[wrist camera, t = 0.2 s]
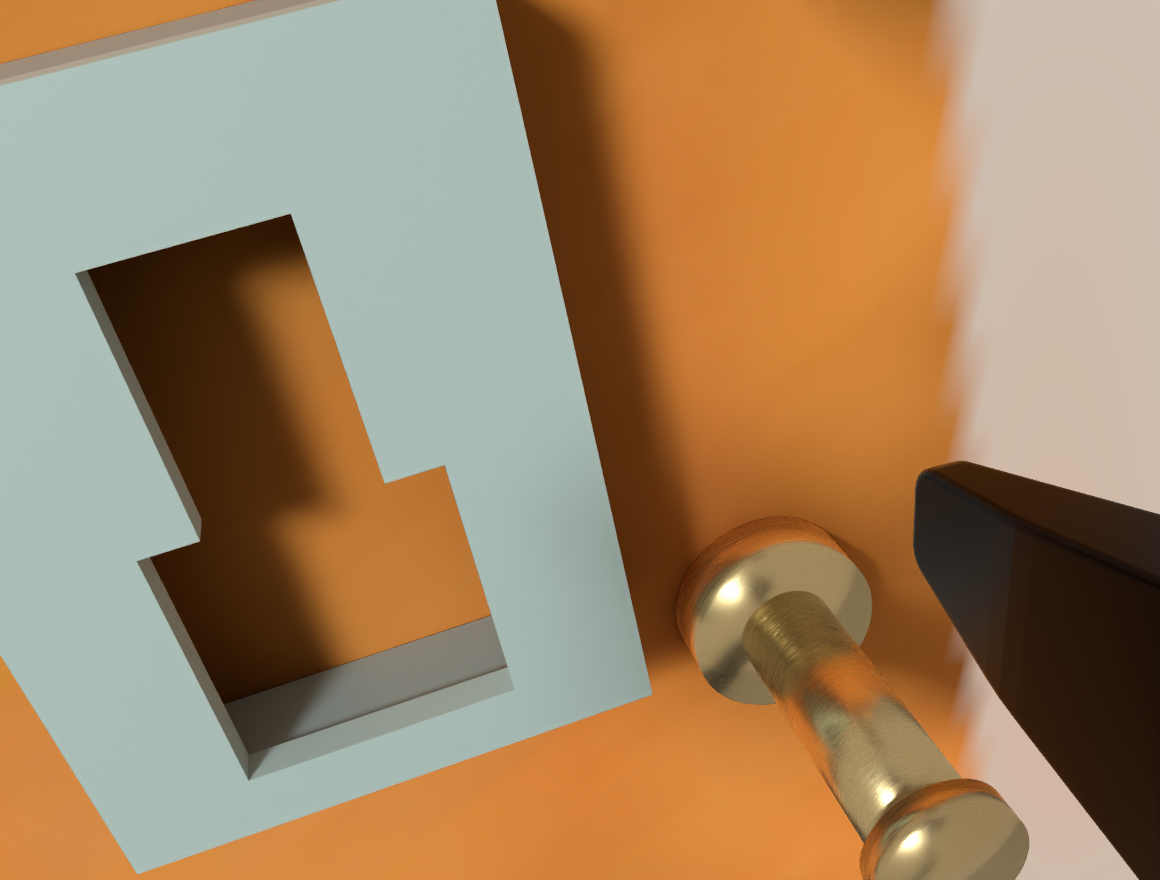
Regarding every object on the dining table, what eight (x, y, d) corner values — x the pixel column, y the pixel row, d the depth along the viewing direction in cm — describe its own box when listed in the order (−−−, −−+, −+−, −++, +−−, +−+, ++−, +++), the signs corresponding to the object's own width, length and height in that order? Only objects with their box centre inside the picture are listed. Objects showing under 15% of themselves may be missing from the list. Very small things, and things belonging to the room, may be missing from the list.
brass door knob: (849, 633, 31) (1062, 906, 22) (690, 688, 30) (850, 989, 22) (836, 493, 28) (1068, 742, 20) (662, 550, 28) (831, 832, 19)
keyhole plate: (613, 614, 28) (652, 694, 25) (149, 770, 26) (137, 874, 24) (455, -50, 20) (487, -37, 17) (-224, 119, 18) (-307, 162, 16)
